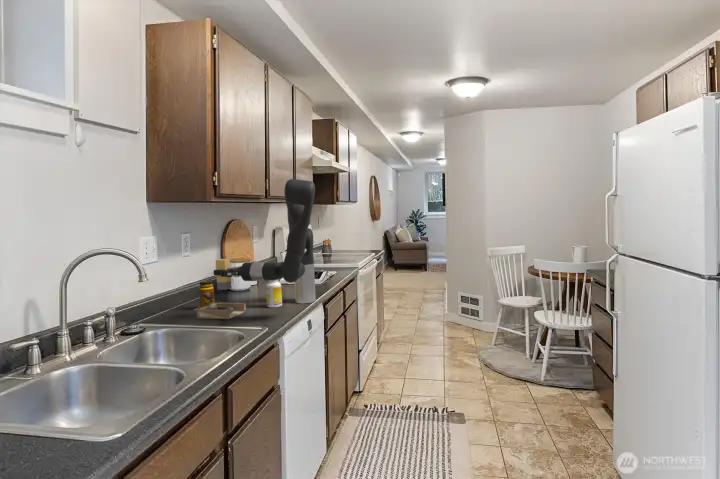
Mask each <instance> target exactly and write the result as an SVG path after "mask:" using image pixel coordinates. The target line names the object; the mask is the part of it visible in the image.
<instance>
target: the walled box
mask: <svg viewBox="0 0 720 479" xmlns="http://www.w3.org/2000/svg"><path fill="white" fill-rule="evenodd" d="M246 309H247V308H246V303H244V302H215V303H214V304H211V305H208V306H206V307H203V308H200V309H197V310H196V319H205V320H209V319H210V320H230V319H232V318H234V317H236V316H238V315H241V314H243V313H245V312H246V311H247V310H246Z"/></svg>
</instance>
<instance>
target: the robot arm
mask: <svg viewBox="0 0 720 479" xmlns="http://www.w3.org/2000/svg"><path fill="white" fill-rule="evenodd" d="M283 193H284V201H285V203H286V204H285V205H286V209H287V223H288V234H287V241H286V251H285V256H284V260H283V261H279V262H263V261H257V262H256V261H255V262H253V261H249V262H248V261H246V262H245V261H244V263H242V264H241V265H240V266H239V265H238V266H232V267H231V266H230V268H228V269H222V270H216V269H213V275H214V276H217V275H221V277H231V278H233V277H234V278H240V277H241V279H242V280H243V281H244V282H264V281H268V280H278V279H279V280H280V279H283V280H284V281H285V282H287V283H291V284H292V283H294V301H295V303H296V304H311V303H315V302H316V280H315V262H314V232H313V229H311V228H309V226H310V223H311V216H312V212H313V206H314V202H315V193H316V185H315V183H314V182H313V181H312V180H304V179H296V178H291V179H288V180H287V181H286V183H285V184H284V191H283ZM279 280H278V281H279Z"/></svg>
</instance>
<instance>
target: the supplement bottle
mask: <svg viewBox="0 0 720 479" xmlns="http://www.w3.org/2000/svg"><path fill="white" fill-rule="evenodd" d="M279 280H280V279H278V280H267V281H268V283H266V284H265V294H266V306H267V307H268V308H270V309H271V308H279V307H282V306H283V295H282V294H283V292H282V284H281V283H280V282H279Z"/></svg>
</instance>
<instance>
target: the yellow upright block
mask: <svg viewBox="0 0 720 479" xmlns="http://www.w3.org/2000/svg"><path fill="white" fill-rule="evenodd" d="M230 261H231V259H230V258H220V259H215V270H222V269H228V268H230V267H231V262H230ZM216 287H217V291H218V290H219V291H220V290H223V291H226V290H229V289H232V277H221V275H216Z"/></svg>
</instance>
